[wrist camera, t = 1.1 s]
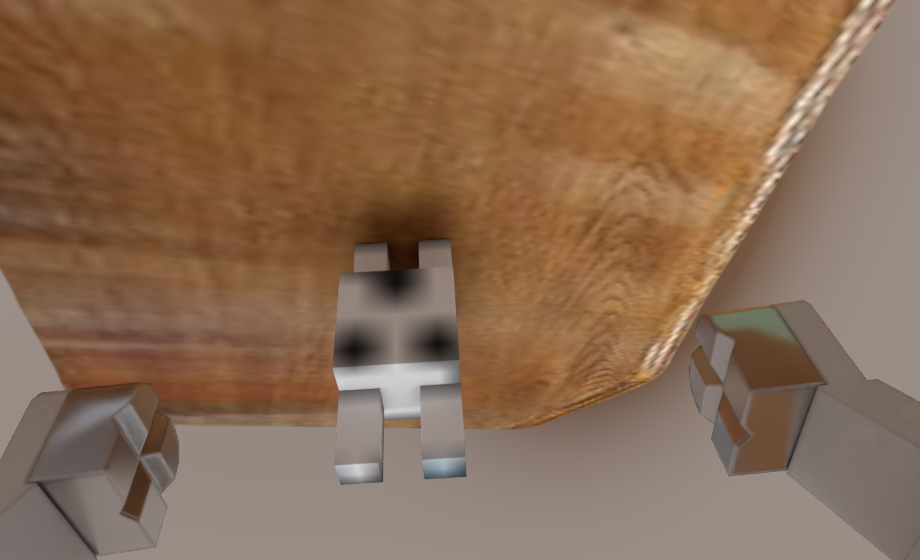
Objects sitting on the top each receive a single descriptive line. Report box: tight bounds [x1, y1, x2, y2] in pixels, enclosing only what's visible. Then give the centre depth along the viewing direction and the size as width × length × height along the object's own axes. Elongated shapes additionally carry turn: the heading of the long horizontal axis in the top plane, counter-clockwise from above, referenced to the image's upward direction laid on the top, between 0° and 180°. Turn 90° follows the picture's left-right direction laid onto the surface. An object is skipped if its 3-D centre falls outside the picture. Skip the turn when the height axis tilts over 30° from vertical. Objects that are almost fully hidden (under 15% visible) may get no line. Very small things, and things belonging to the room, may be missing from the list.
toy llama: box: [333, 239, 466, 485], centre depth 51 cm, size 8×18×20 cm, turn 1°
